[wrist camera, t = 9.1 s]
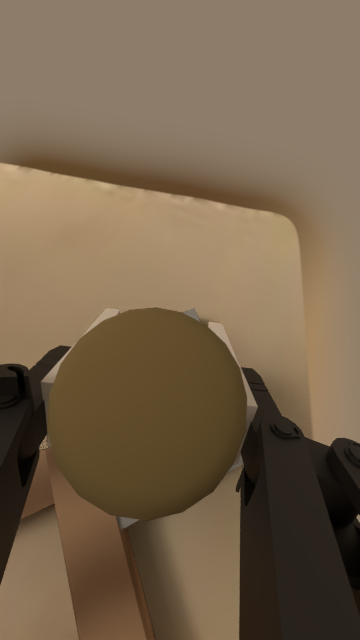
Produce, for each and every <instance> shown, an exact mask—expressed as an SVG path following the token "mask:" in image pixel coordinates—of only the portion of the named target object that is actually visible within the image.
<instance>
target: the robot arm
mask: <svg viewBox="0 0 360 640" xmlns="http://www.w3.org/2000/svg"><path fill="white" fill-rule="evenodd" d="M118 314H120V310H119V309H112V308H106V309H105V310H104V311H103V312H102V313H101V315H100V316H99V317H98V318H97V319H96V320H95V321H94V322H93V324H92V325H91V326H90V327H89V328H88V329H87V330H86V331H85V333H84V334H83V335H82V336H84V335H85V334H86V333H87V332H89V331H90V330H91V329H93V328H94V327H95V326H97V325H98V324H99V323H101V322H102V321H103V320H106V319H108V318H111V317H113V316H116V315H118ZM208 327H209V328H210V329H211V330H212V331H213V332H214V333H215V334H216V335H217V336H218V337H219V338H220V339H221V340H222V341H224V342H225V343H226V345H227V347H228V348H229V350H230V352H231V354H232V355H233V357H234V359H235V361H236V362H237V364H238V366H239V367H240V364H239V362H238V360H237V358H236V355H235V353H234V351H233V348H232V346H231V344H230V341H229V339H228V337H227V334H226V332H225V330H224V327H223V325H222V323H215V322H209V324H208ZM82 336H81V337H82ZM81 337H80V338H81ZM80 338H79V339H80ZM79 339H78V340H79ZM78 340H77V341H78ZM76 343H77V342H76ZM76 343H75V344H76ZM75 344H74V345H75ZM74 345H73V346H72V347H68V346H58V347H56V348H54V349H52V350H50V351H49V352H48V353H47V354H46V355H45V356H44V357H43V358H42V359H41V360H40V361H38V362H37V363H36V365H34V366H33V367H32V368H31V369H30V370H28V368H27V367H25V366H23V365H20V364H3V365H0V584H1V581H2V578H3V575H4V571H5V568H6V565H7V562H8V558H9V555H10V552H11V549H12V545H13V542H14V539H15V536H16V532H17V529H18V526H19V522H20V519H21V516H22V513H23V509H24V506H25V503H26V500H27V496H28V493H29V490H30V487H31V483H32V480H33V477H34V474H35V470H36V467H37V464H38V461H39V455H40V449H39V446H40V444H41V443H42V441H43V439H44V438H45V436H46V435H47V444H48V446H51V443H50V440H49V436H48V433H47V421H48V402H49V394H50V391H51V389H52V386H53V383H54V380H55V378H56V375H57V372H58V370H59V367H60V364H61V363H62V361H63V360H64V359H65V357H66V356H67V355H68V353H69V352H70V351H71V349H72V348H73V347H74ZM240 370H241V374H242V379H243V383H244V387H245V391H246V395H247V415H246V431H245V434H244V437H243V440H242V443H241V446H240V448H239V451H238V454H237V457H236V460H235V463H234V464H233V465H237V463H238V460H239V457H240V455H241V456H242V460H243V464H244V467H243V470H242V473H241V475H240V478H239V481H238V483H237V486H236V492H239V490H240V487H241V508H240V620H239V640H360V523H359V521H358V520H357V518H356V517H357V515H358V514H359V515H360V444H359V443H357V442H355V441H353V440H349V439H346V438H337V439H335V440H334V441H333V443H332V444H331V446H330V447H329V446H327V445H324V444H321V443H319V442H316V441H313V440H310V439H308V438H306V437H304V435H303V433H302V431H301V429H300V428H299V427H298V426H297V425H296V424H295V423H293V422H292V421H290V420H289V419H288V418H285V417H283V416H282V415H281V414H280V412H279V410H278V408H277V406H276V404H275V402H274V401H273V399H272V397H271V395H270V393H269V392H268V389H267V388H266V386H265V385H264V382H263V380H262V378H261V376H260V375H259V374H258V373H256V372H255V371H254V370H253V369H251V368H243V367H240Z"/></svg>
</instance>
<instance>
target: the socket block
mask: <svg viewBox="0 0 360 640" xmlns="http://www.w3.org/2000/svg"><path fill="white" fill-rule="evenodd" d="M54 503H55V509H56V514H57V520H58V525H59V531H60V536H61V542H62V547H63V553H64V559H65V564H66V570H67V575H68V581H69V586H70V592H71V597H72V603H73V609H74V614H75V620H76V625H77V631H78V636H79V640H156V639H155V635H154V631H153V628H152V624H151V620H150V616H149V612H148V608H147V605H146V601H145V597H144V593H143V589H142V585H141V581H140V578H139V574H138V570H137V566H136V562H135V558H134V554H133V551H132V547H131V543H130V539H129V535H128V531H127V528H124V529H122V530H120V528H119V525H118V521H117V517H116V516H113V515H109V514H107V513H106V512H104V511H103V510H101V509H99V508H98V507H96V506H94V505H93V504H91V503H90V502H88V501H86V500H85V499H83V498H82V497H80V496H78V494H77V493H76V492H75V490H74V489H73V487H72V486H71V485H70V483H69V482H68V481H67V479H66V478H65V476H64V475H63V474H62V472H61V471H60V470H59V468H58V467H57V465H56V461H55V458H54V454H53V451H52V447H48V448H46V449H44V450H41V451H40V455H39V461H38V464H37V467H36V470H35V474H34V477H33V480H32V483H31V487H30V490H29V493H28V496H27V500H26V503H25V506H24V509H23V513H22V516H21V519H23V518H25V517H27V516H29V515H31V514H33V513H36V512H38V511H40V510H42V509H44V508H46V507H48V506H50V505H52V504H54ZM21 519H20V520H21Z"/></svg>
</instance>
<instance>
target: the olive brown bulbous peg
mask: <svg viewBox="0 0 360 640" xmlns="http://www.w3.org/2000/svg"><path fill="white" fill-rule="evenodd" d="M246 415H247V395H246V391H245V387H244V383H243V379H242V374H241V370H240V367H239V366H238V364H237V362H236V361H235V359H234V357H233V355H232V354H231V352H230V350H229V348H228V347H227V345H226V343H225V342H224V341H222V340H221V339H220V338H219V337H218V336H217V335H216V334H215V333H214V332H213V331H212V330H211V329H210V328H209V327H208V326H207V325H206V324H204V323H202V322H200V321H198V320H196V319H194V318H192V317H190V316H188V315H186V314H184V313H182V312H177V311H172V310H166V309H161V308H147V309H136V310H129V311H126V312H123V313H121V314H118V315H116V316H113V317H111V318H108V319H106V320H103V321H102V322H101V323H99V324H98V325H97V326H95V327H94V328H93V329H91V330H90V331H89V332H87V333H86V334H85V335H84V336H82V337H81V338H80V339H79V340H78V341H77V343H76V344H75V345H74V347H73V348H72V349H71V351H70V352H69V353H68V355H67V356H66V357H65V359H64V360H63V361H62V363H61V364H60V367H59V370H58V372H57V375H56V378H55V380H54V383H53V386H52V389H51V391H50V394H49V402H48V421H47V433H48V436H49V440H50V443H51V447H52V451H53V454H54V458H55V461H56V465H57V467H58V468H59V470H60V471H61V472H62V474H63V475H64V476H65V478H66V479H67V481H68V482H69V483H70V485H71V486H72V487H73V489H74V490H75V492H76V493H77V494H78V496H80V497H82V498H83V499H85V500H86V501H88V502H90V503H91V504H93V505H94V506H96V507H98V508H99V509H101V510H103V511H104V512H106V513H107V514H109V515H113V516H119V517H126V518H132V519H138V520H145V521H148V520H152V519H156V518H160V517H164V516H169V515H173V514H177V513H181V512H183V511H185V510H186V509H188V508H189V507H191V506H192V505H194V504H195V503H197V502H198V501H200V500H201V499H203V498H204V497H206V496H207V495H209V494H210V493H211V492H213V491H214V489H215V488H216V487H217V485H218V484H219V483H220V481H221V480H222V479H223V477H224V476H225V475H226V473H227V472H228V471H229V469H230V468H231V467H232V465H233V464H234V463H235V460H236V457H237V454H238V451H239V448H240V446H241V443H242V440H243V437H244V434H245V431H246Z"/></svg>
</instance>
